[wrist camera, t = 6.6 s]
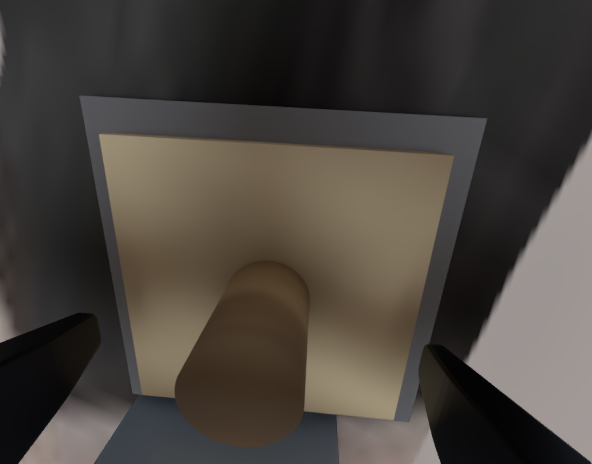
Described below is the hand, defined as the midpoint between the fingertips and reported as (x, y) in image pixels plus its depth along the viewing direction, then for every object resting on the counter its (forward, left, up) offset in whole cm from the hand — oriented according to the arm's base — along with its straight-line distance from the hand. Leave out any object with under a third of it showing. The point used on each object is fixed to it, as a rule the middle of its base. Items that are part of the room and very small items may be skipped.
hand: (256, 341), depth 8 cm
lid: (0, 0, -3) cm, 3 cm away
